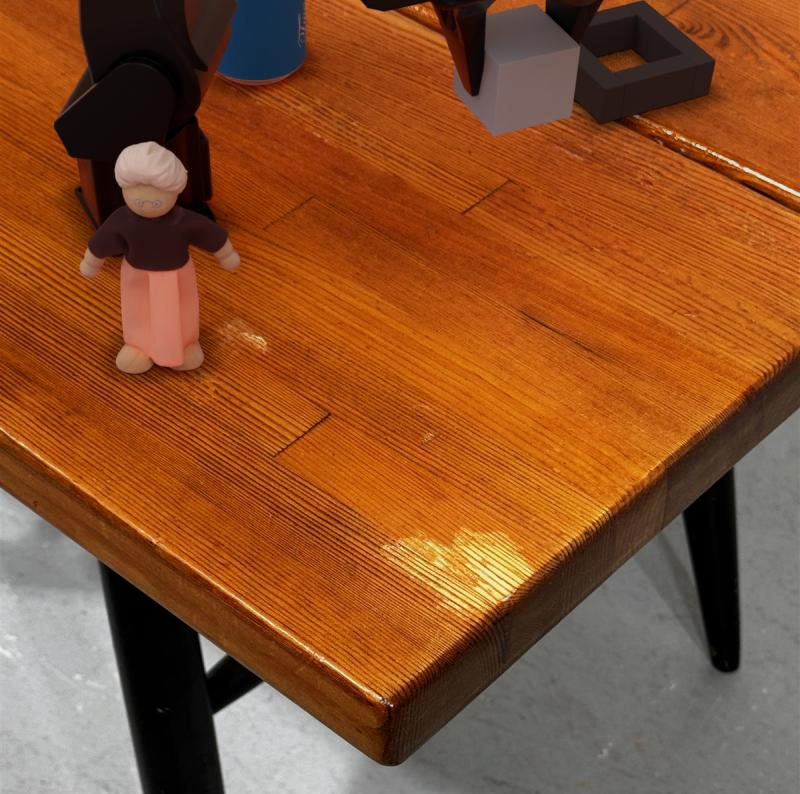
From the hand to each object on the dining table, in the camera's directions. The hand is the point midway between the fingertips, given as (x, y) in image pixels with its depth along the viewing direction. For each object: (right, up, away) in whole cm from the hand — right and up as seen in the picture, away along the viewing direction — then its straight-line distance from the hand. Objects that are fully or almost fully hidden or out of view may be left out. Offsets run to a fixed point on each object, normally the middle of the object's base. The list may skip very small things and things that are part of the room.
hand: (512, 82), depth 74 cm
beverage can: (-15, +7, +21) cm, 27 cm away
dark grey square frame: (+9, +6, +21) cm, 24 cm away
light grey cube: (0, -1, +1) cm, 1 cm away
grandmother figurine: (-18, -14, +2) cm, 22 cm away
